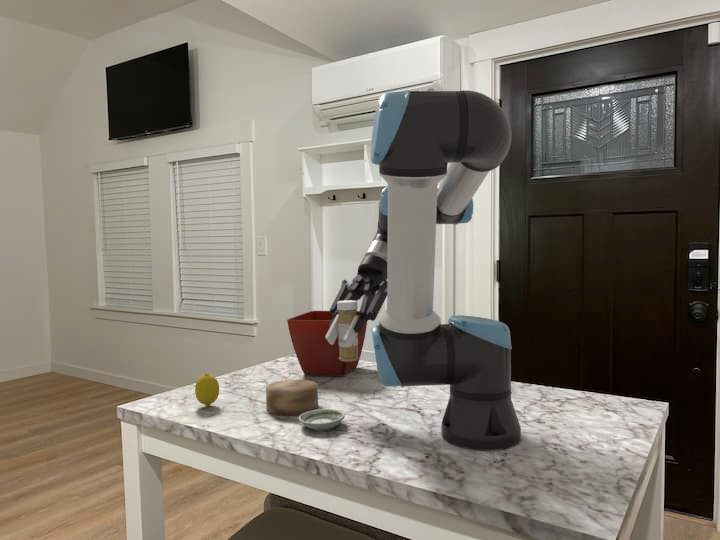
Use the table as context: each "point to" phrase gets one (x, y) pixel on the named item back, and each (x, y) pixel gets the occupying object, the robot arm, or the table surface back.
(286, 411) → the walnut pedestal
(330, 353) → the plant pot
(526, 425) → the table surface
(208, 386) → the lemon
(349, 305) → the sprinkles bottle
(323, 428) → the saucer
